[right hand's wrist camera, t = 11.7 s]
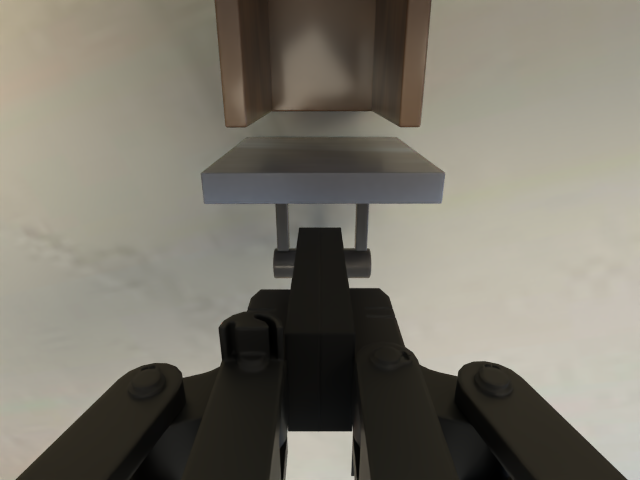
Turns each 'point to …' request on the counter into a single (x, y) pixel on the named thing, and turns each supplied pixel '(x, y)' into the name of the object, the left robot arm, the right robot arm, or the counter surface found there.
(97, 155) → the counter surface
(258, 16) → the drawer
